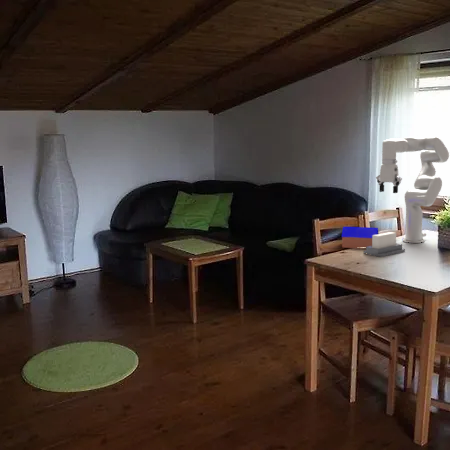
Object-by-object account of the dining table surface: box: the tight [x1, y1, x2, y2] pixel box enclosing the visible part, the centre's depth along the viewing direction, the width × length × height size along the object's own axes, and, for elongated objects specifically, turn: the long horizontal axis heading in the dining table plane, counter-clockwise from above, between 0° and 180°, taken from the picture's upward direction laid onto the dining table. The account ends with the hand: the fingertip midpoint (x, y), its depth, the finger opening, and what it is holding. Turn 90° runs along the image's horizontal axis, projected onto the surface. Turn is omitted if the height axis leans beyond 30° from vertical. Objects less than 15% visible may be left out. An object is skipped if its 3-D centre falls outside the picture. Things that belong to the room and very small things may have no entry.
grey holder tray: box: [363, 242, 406, 258], centre depth 304 cm, size 20×12×4 cm, turn 124°
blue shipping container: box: [341, 226, 380, 249], centre depth 322 cm, size 12×20×12 cm, turn 69°
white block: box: [372, 231, 397, 249], centre depth 304 cm, size 15×4×9 cm, turn 123°
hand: (388, 192), depth 311 cm, fingers open, 9 cm apart
